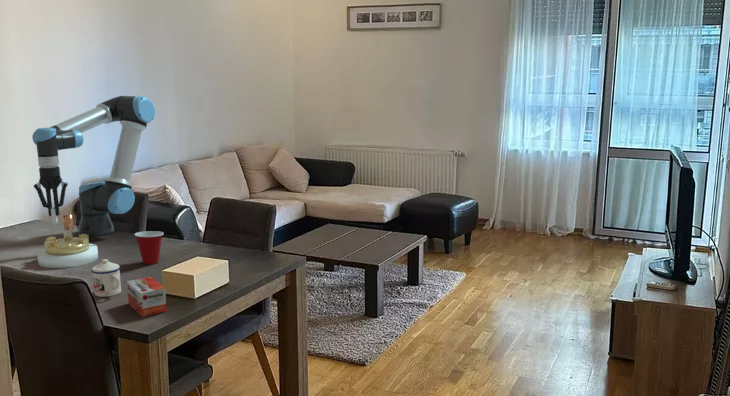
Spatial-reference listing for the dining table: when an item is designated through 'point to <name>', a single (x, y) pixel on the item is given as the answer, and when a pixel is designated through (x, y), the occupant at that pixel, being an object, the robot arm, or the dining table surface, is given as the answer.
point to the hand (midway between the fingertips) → (55, 223)
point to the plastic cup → (149, 246)
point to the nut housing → (68, 258)
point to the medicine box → (146, 296)
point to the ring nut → (67, 240)
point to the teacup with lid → (106, 279)
